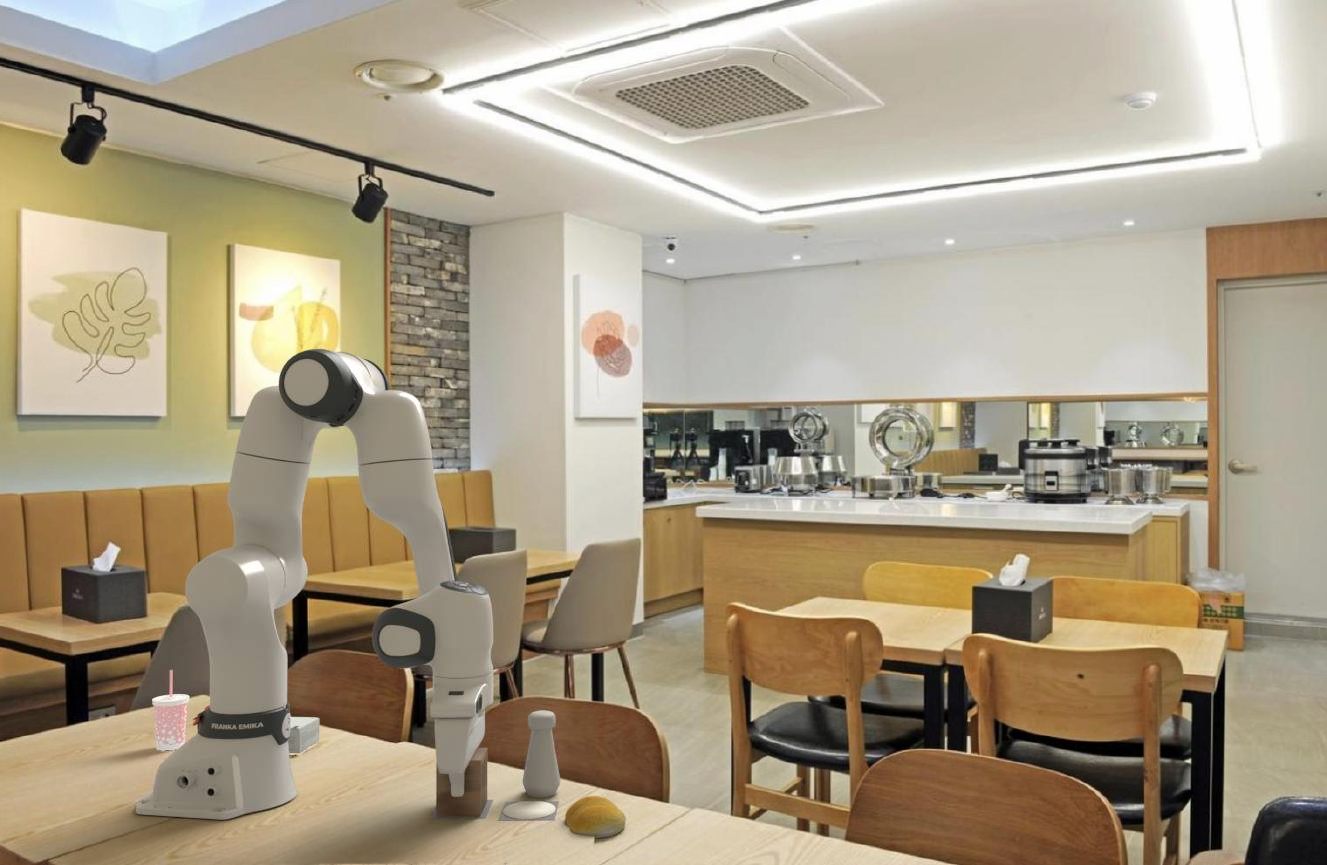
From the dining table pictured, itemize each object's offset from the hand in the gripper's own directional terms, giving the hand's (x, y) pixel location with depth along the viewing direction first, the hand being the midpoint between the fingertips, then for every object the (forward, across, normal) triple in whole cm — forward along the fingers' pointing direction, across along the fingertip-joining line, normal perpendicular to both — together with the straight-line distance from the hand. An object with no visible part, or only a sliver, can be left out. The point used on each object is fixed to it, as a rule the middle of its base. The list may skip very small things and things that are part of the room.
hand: (462, 786), depth 150 cm
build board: (+4, +1, +10) cm, 11 cm away
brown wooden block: (+3, 0, 0) cm, 3 cm away
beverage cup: (+4, -36, -59) cm, 69 cm away
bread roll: (+4, +6, +20) cm, 21 cm away
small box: (+4, -34, -37) cm, 51 cm away
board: (+4, 0, 0) cm, 4 cm away
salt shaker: (+4, -7, +11) cm, 14 cm away
